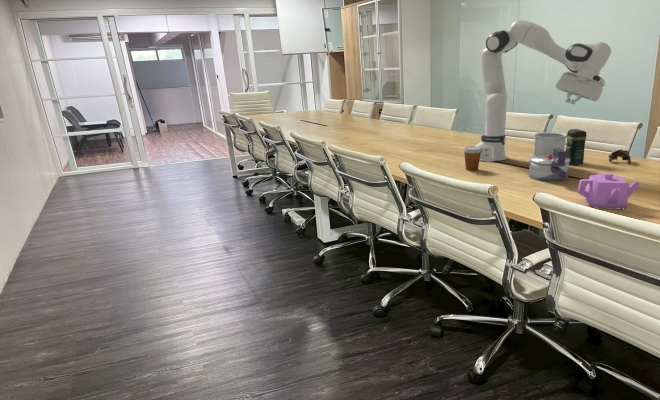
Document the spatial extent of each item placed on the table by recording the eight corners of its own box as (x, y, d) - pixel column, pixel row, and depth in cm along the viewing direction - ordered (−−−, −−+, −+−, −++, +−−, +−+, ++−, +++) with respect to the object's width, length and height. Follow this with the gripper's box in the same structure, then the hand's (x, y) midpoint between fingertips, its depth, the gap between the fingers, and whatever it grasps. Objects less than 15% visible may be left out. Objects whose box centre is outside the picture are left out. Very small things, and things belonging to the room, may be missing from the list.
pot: (522, 171, 224) (523, 156, 221) (557, 170, 221) (558, 155, 218) (541, 187, 195) (542, 170, 192) (581, 186, 192) (583, 169, 189)
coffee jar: (585, 165, 227) (589, 130, 222) (570, 166, 227) (574, 131, 222) (576, 161, 236) (580, 127, 231) (561, 162, 237) (565, 128, 231)
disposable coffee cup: (481, 167, 236) (482, 146, 233) (481, 171, 228) (482, 149, 224) (463, 167, 240) (463, 146, 236) (462, 171, 231) (463, 149, 227)
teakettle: (595, 195, 180) (599, 166, 177) (639, 204, 166) (644, 174, 162) (570, 203, 173) (574, 173, 169) (614, 214, 158) (619, 182, 155)
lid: (525, 157, 218) (526, 142, 216) (562, 156, 215) (564, 141, 212) (539, 168, 194) (541, 152, 192) (581, 168, 191) (583, 151, 189)
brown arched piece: (629, 167, 220) (621, 153, 220) (610, 172, 229) (603, 158, 228) (638, 157, 226) (630, 143, 226) (619, 162, 234) (612, 149, 234)
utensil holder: (565, 170, 219) (568, 136, 214) (533, 170, 225) (536, 136, 219) (561, 164, 233) (564, 132, 227) (531, 163, 238) (533, 132, 232)
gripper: (563, 68, 208) (547, 94, 210) (606, 80, 195) (589, 107, 197) (566, 73, 212) (550, 98, 215) (608, 85, 199) (591, 112, 202)
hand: (569, 103), depth 206 cm, fingers closed
